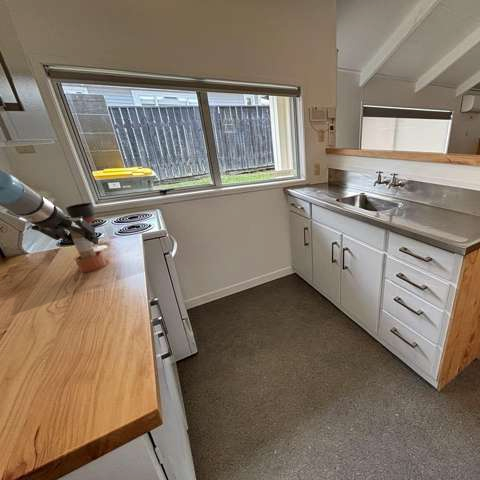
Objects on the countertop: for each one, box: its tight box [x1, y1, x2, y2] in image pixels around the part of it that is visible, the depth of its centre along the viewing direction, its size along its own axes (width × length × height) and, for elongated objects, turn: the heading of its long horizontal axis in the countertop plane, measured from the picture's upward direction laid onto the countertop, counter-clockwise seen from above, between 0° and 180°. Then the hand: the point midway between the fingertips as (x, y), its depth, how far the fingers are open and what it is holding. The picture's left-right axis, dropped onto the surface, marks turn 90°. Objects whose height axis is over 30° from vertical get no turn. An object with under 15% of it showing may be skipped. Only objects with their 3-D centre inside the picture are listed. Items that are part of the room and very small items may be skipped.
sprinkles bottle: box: [67, 230, 96, 260], centre depth 94 cm, size 5×5×14 cm
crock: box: [74, 250, 107, 273], centre depth 97 cm, size 8×8×5 cm
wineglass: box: [65, 202, 108, 252], centre depth 112 cm, size 8×9×20 cm
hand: (89, 242), depth 98 cm, fingers closed on sprinkles bottle, 4 cm apart
